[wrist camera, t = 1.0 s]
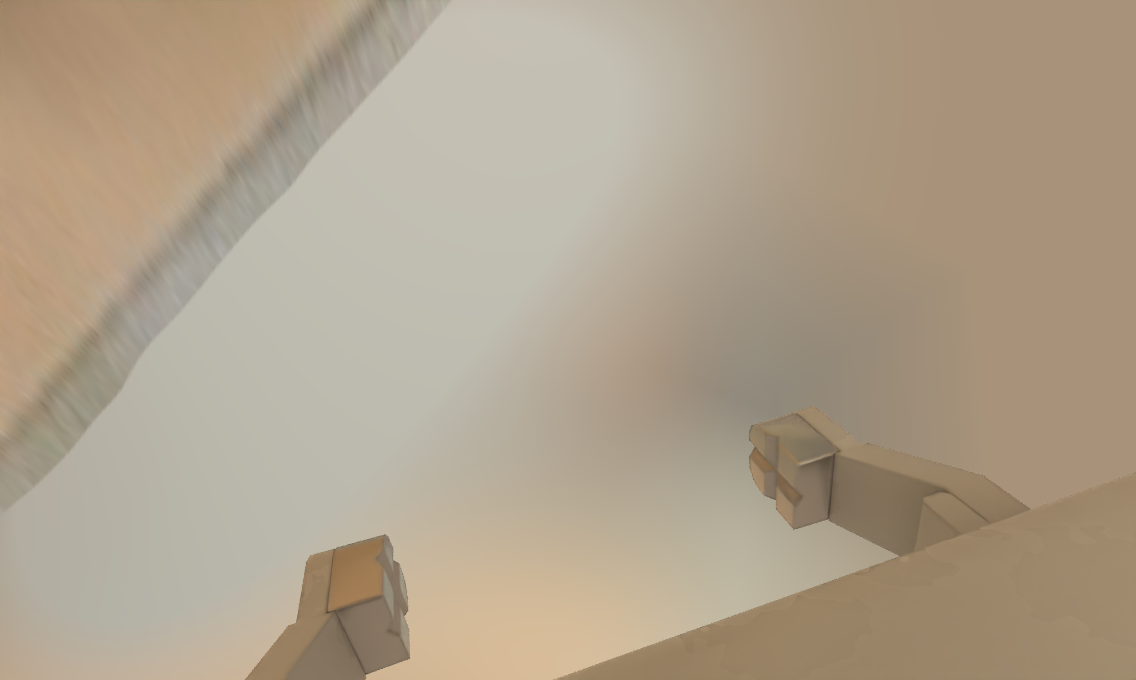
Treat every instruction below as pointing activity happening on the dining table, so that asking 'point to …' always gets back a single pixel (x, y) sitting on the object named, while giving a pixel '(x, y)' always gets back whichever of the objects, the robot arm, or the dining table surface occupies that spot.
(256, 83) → the dining table surface
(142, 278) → the dining table surface
